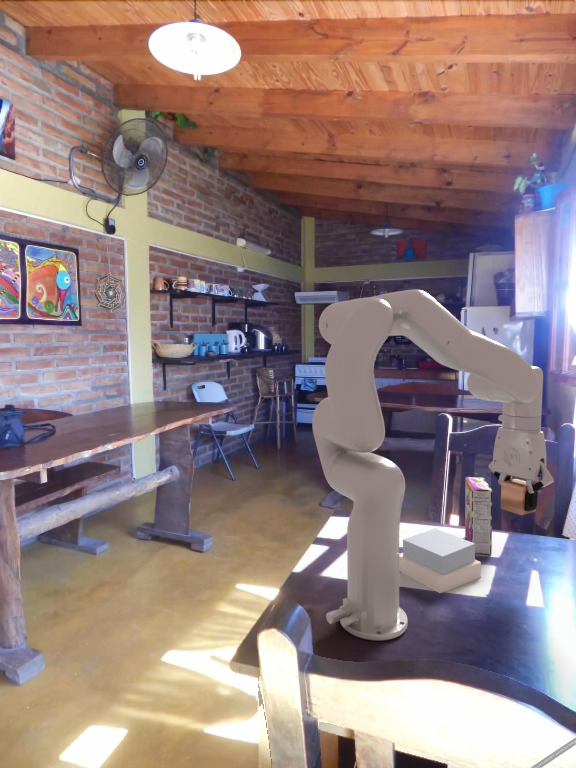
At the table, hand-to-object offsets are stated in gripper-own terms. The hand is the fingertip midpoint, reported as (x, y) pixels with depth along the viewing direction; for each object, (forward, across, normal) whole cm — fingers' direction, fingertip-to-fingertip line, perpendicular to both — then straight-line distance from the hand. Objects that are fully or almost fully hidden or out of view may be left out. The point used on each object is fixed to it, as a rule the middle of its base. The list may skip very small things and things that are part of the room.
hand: (518, 505), depth 106 cm
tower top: (+13, -11, -12) cm, 21 cm away
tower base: (+17, -11, -12) cm, 24 cm away
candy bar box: (+17, -16, +8) cm, 24 cm away
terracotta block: (+1, 0, 0) cm, 1 cm away
